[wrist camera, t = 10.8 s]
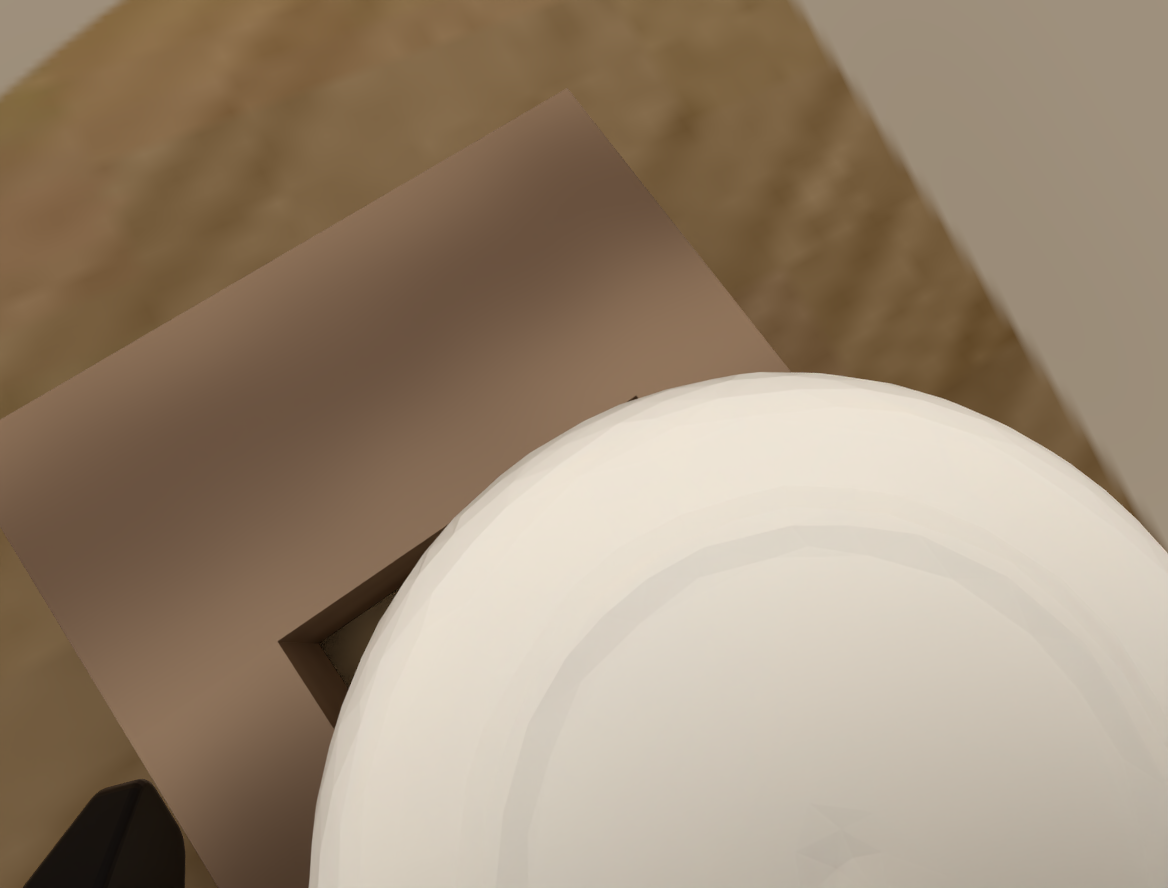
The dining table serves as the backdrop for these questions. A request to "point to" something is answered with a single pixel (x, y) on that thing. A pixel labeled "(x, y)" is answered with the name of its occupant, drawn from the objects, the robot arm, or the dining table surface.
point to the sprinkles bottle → (765, 662)
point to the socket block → (338, 452)
